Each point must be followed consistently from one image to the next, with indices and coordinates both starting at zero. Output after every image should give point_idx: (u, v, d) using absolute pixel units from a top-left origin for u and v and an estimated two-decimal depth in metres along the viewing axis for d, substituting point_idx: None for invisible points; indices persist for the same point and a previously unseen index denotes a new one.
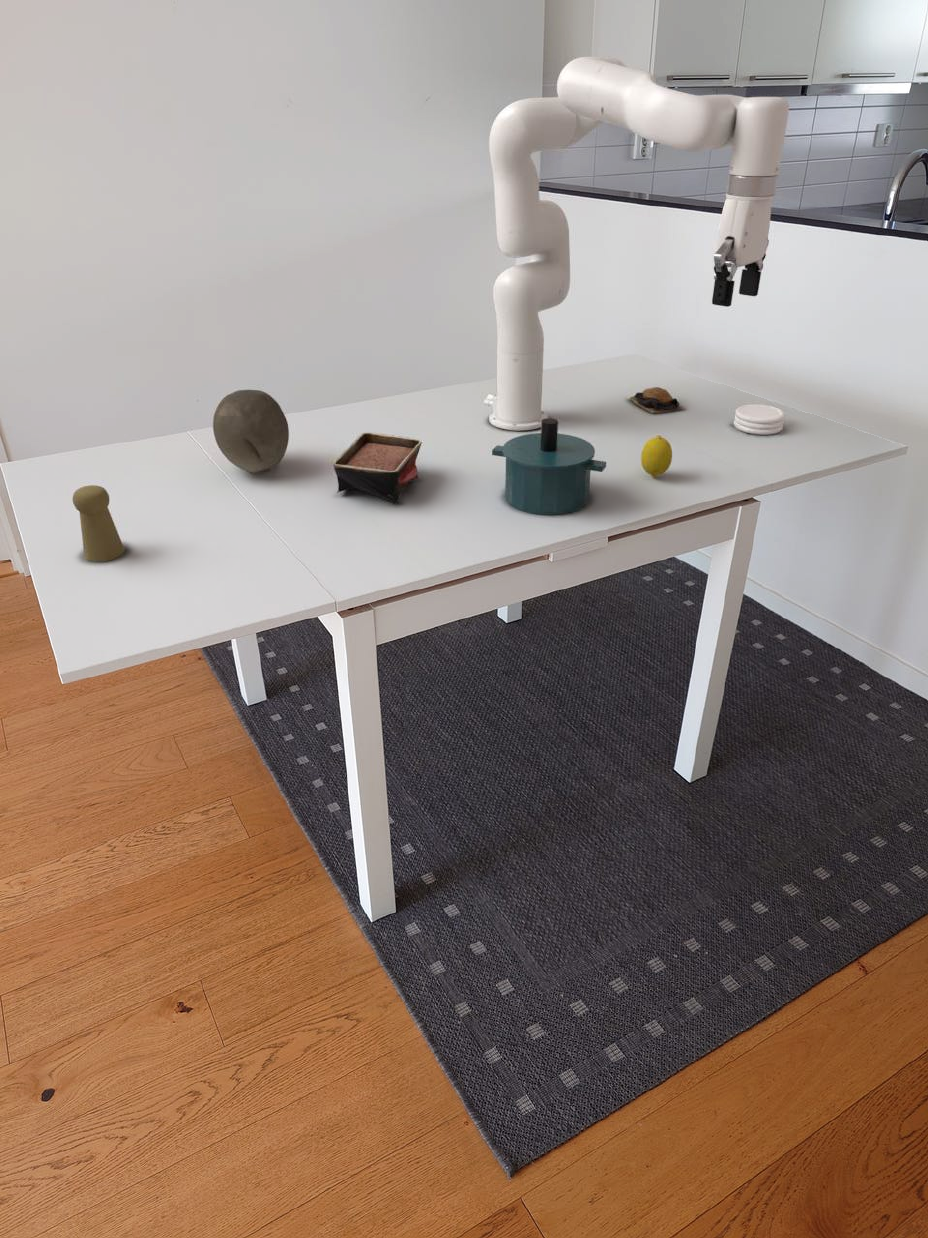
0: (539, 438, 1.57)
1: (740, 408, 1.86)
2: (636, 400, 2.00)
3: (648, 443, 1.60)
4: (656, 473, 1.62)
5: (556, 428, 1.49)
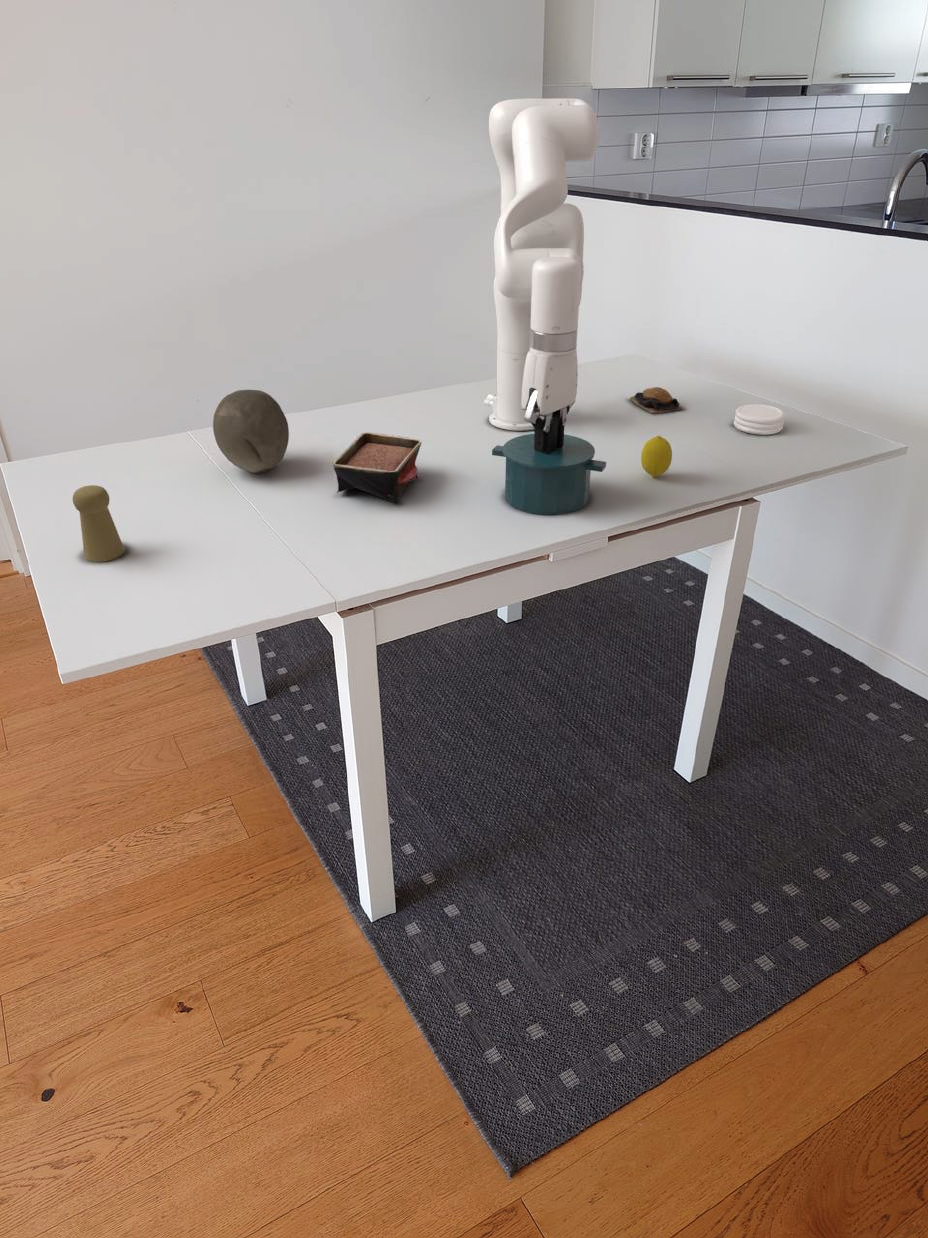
0: None
1: (740, 408, 1.86)
2: (636, 400, 2.00)
3: (648, 443, 1.60)
4: (656, 473, 1.62)
5: (556, 428, 1.49)
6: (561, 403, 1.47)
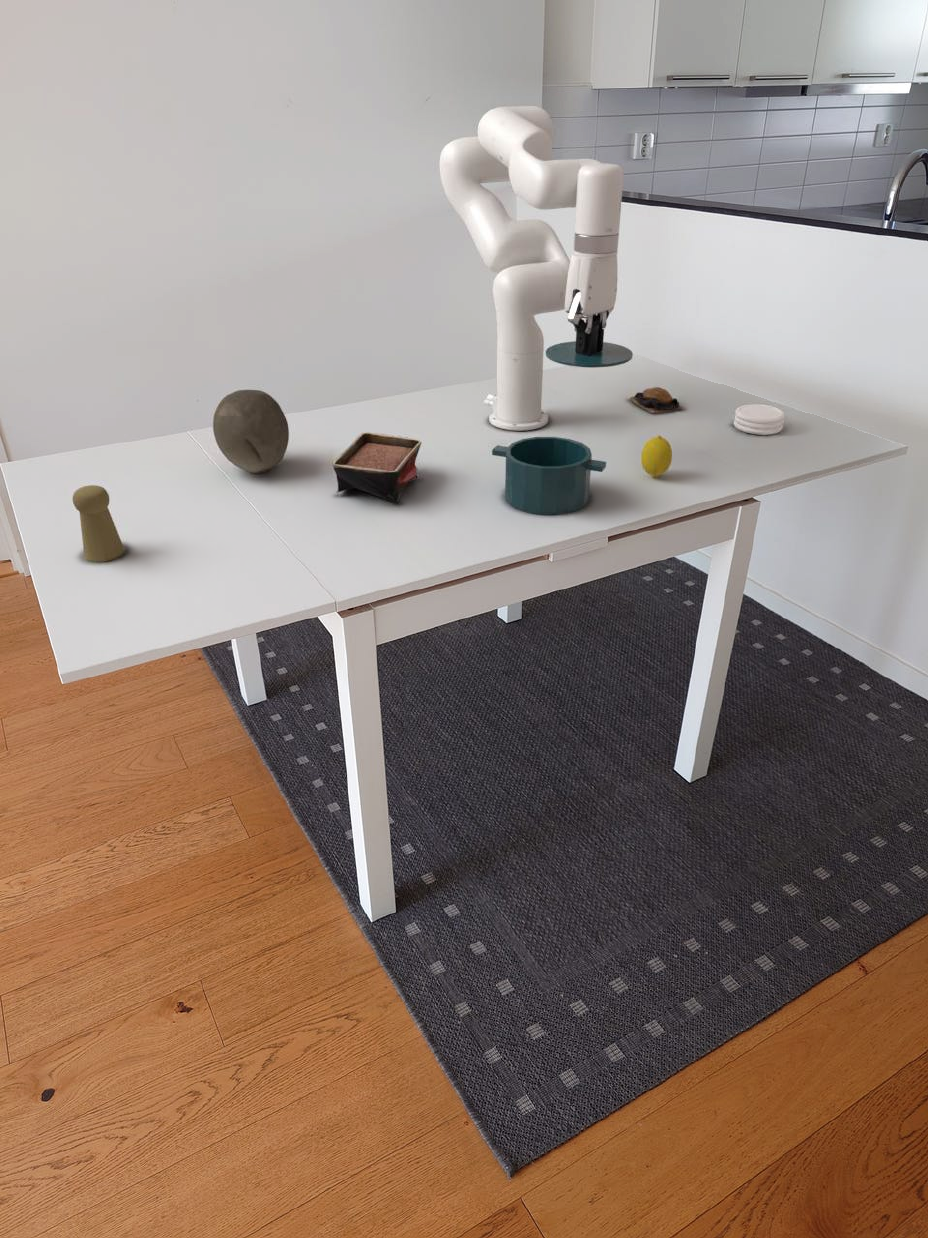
0: None
1: (740, 408, 1.86)
2: (636, 400, 2.00)
3: (648, 443, 1.60)
4: (656, 473, 1.62)
5: (597, 331, 1.59)
6: (602, 306, 1.56)
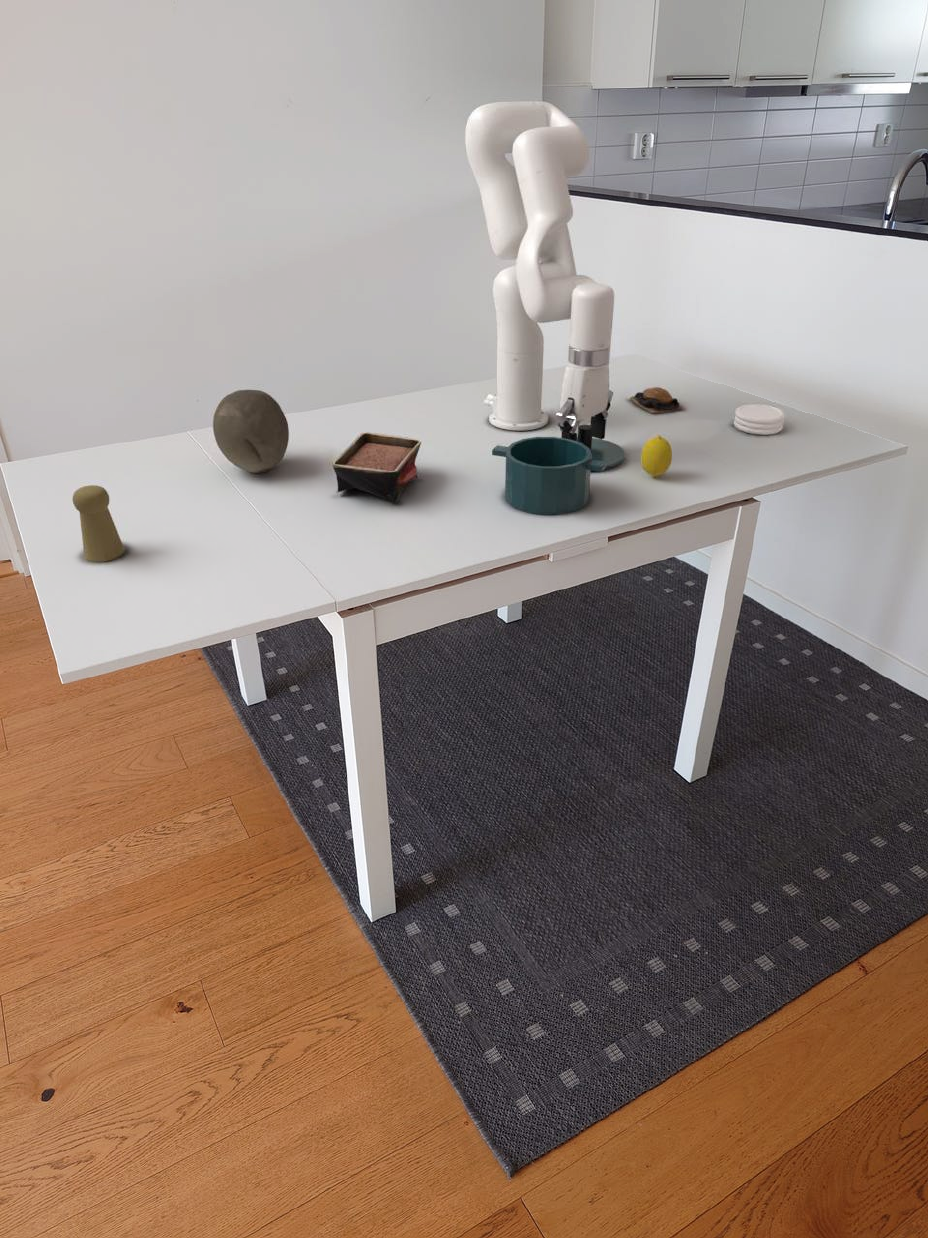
0: None
1: (740, 408, 1.86)
2: (636, 400, 2.00)
3: (648, 443, 1.60)
4: (656, 473, 1.62)
5: (591, 433, 1.70)
6: (595, 410, 1.67)
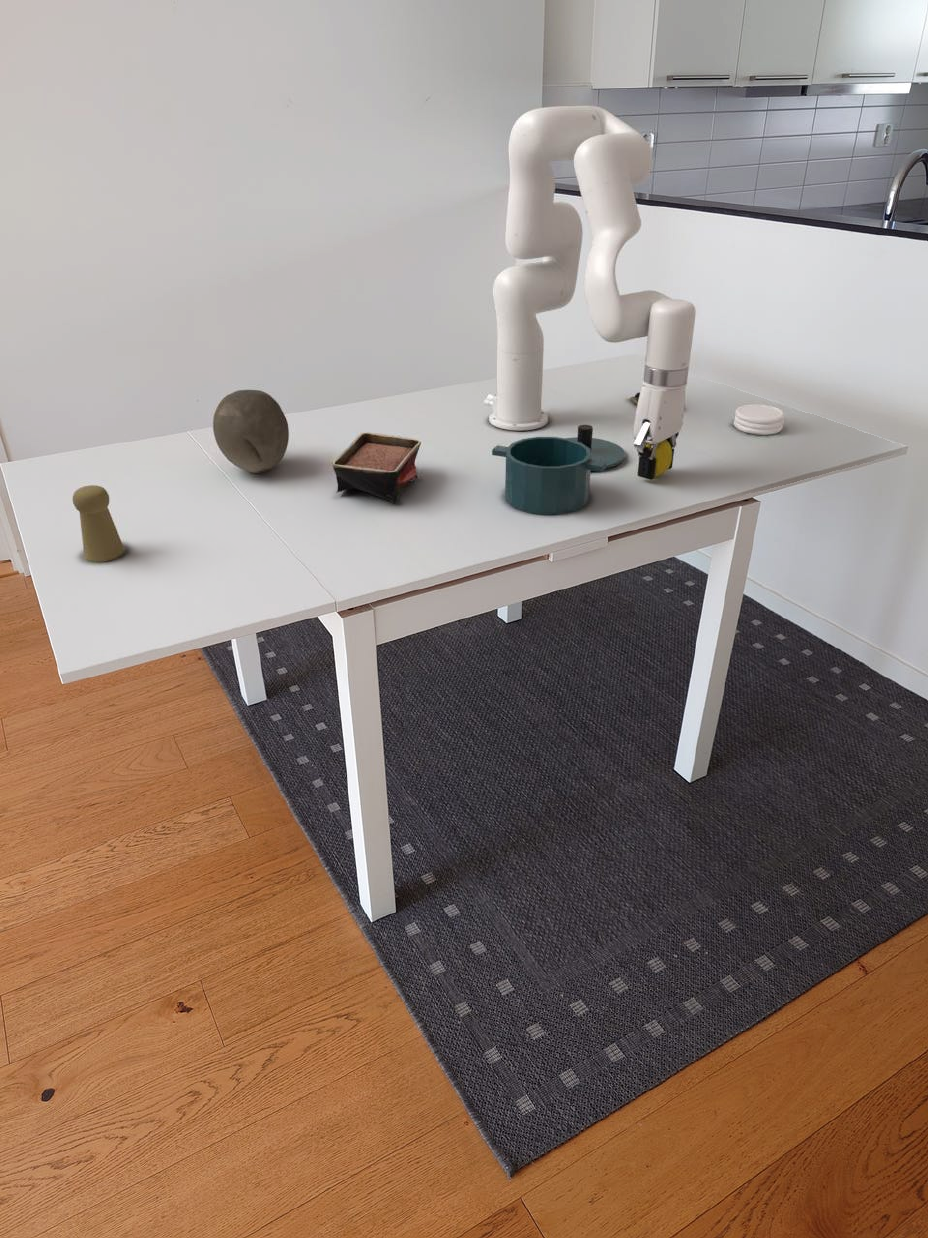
0: None
1: (740, 408, 1.86)
2: (636, 400, 2.00)
3: None
4: (656, 473, 1.62)
5: (591, 433, 1.70)
6: (670, 432, 1.58)
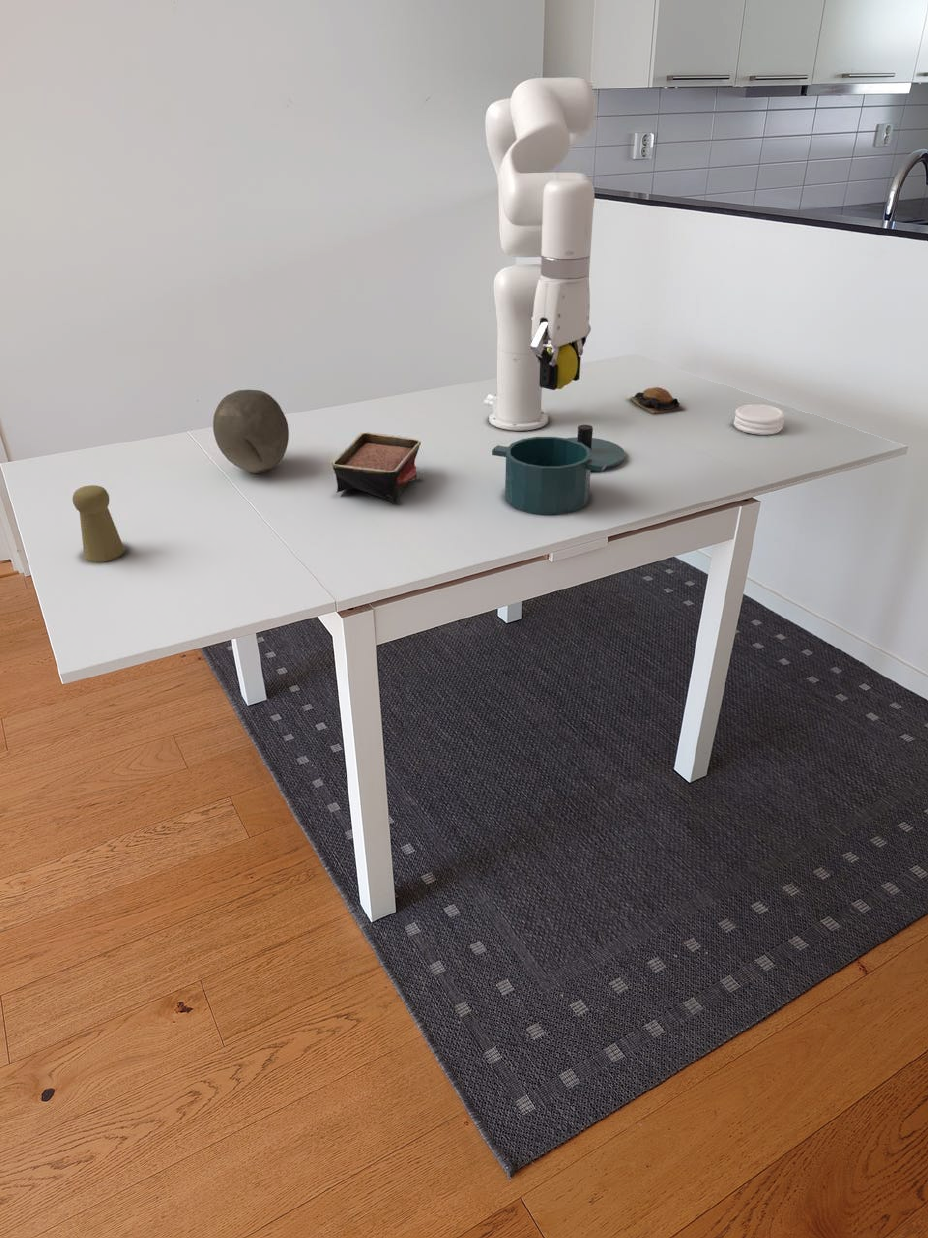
0: None
1: (740, 408, 1.86)
2: (636, 400, 2.00)
3: (550, 349, 1.43)
4: (560, 383, 1.45)
5: (591, 433, 1.70)
6: (573, 335, 1.41)
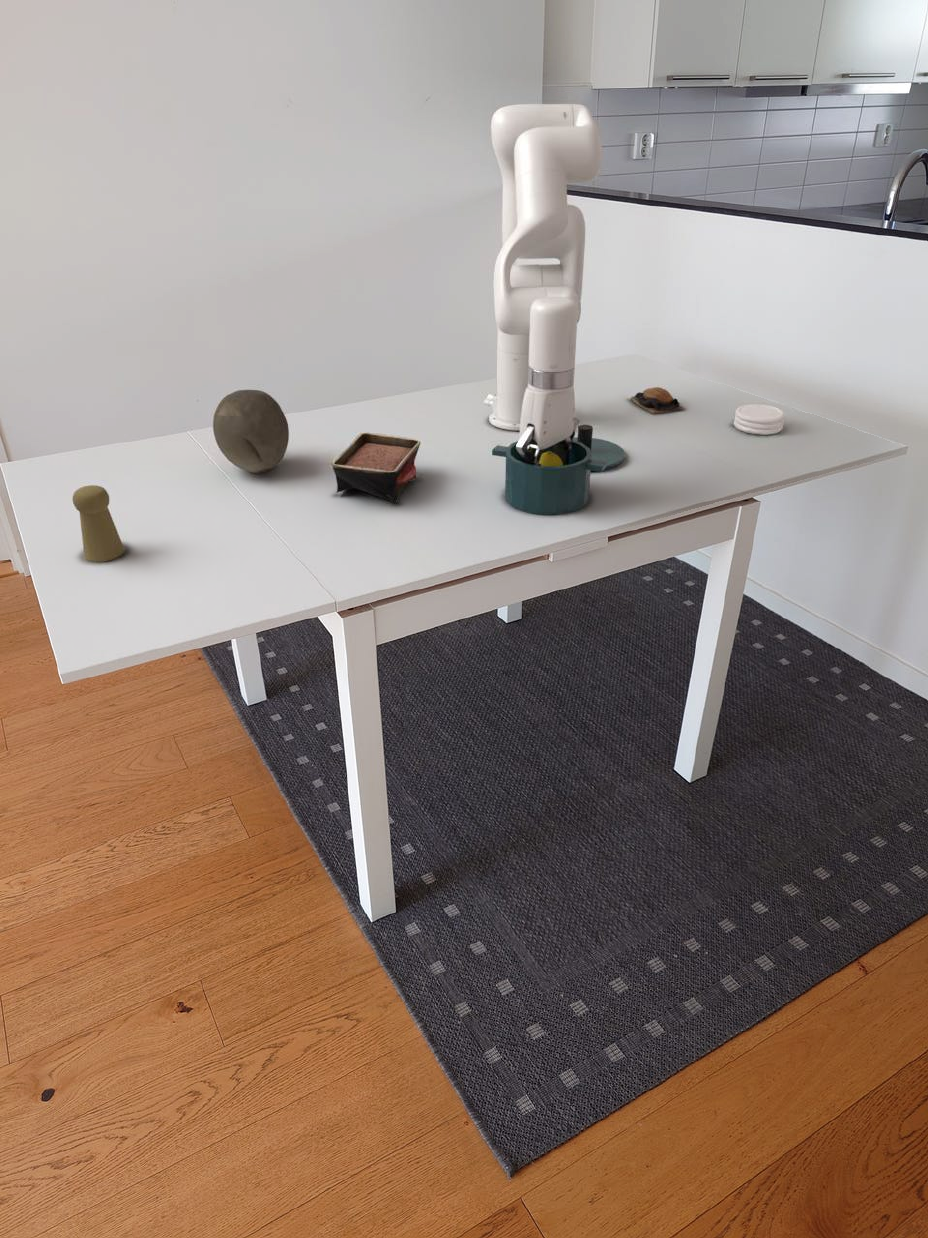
0: None
1: (740, 408, 1.86)
2: (637, 400, 2.00)
3: None
4: None
5: (591, 433, 1.70)
6: (558, 437, 1.50)
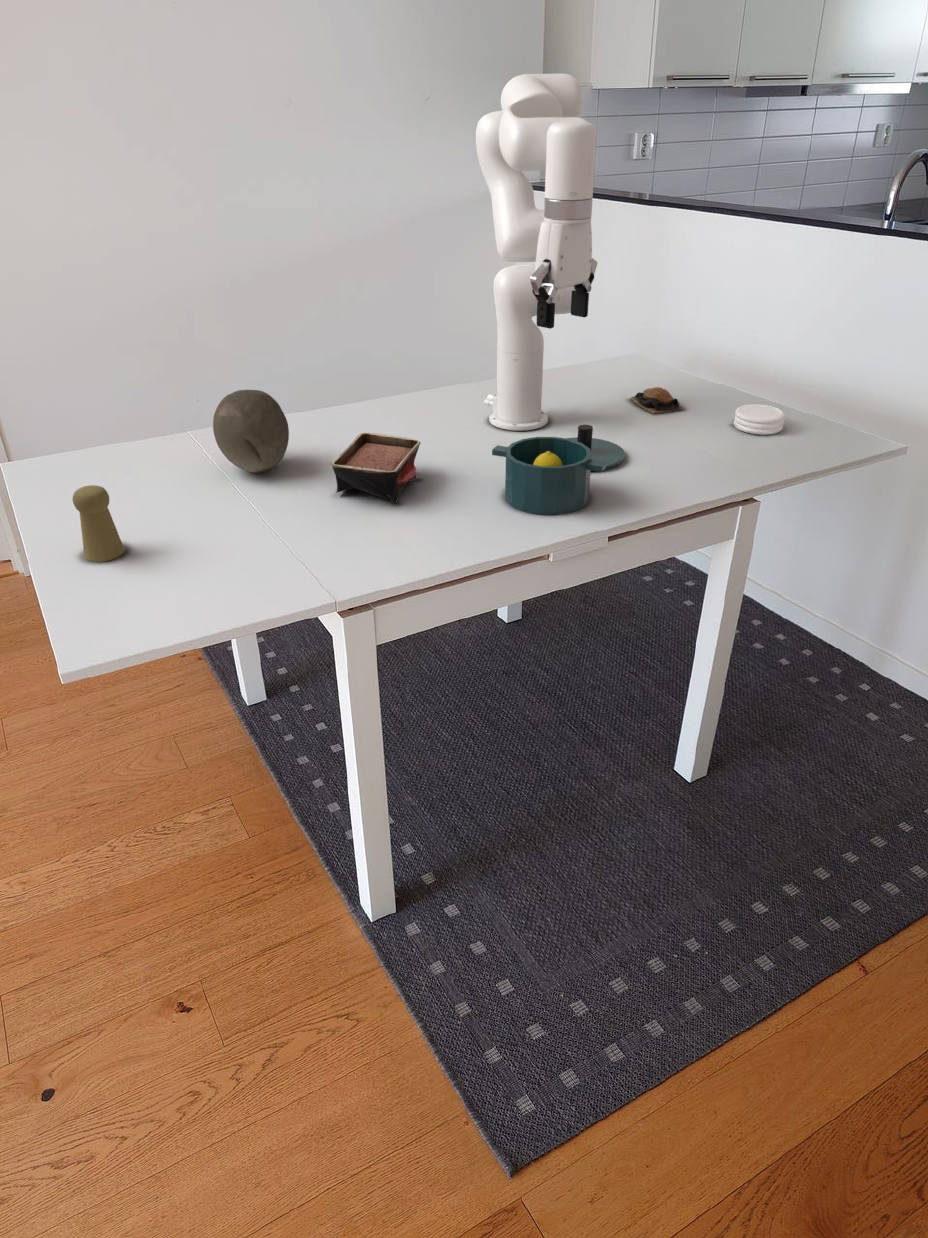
0: None
1: (740, 408, 1.86)
2: (637, 400, 2.00)
3: (537, 459, 1.53)
4: None
5: (591, 433, 1.70)
6: (575, 278, 1.44)
